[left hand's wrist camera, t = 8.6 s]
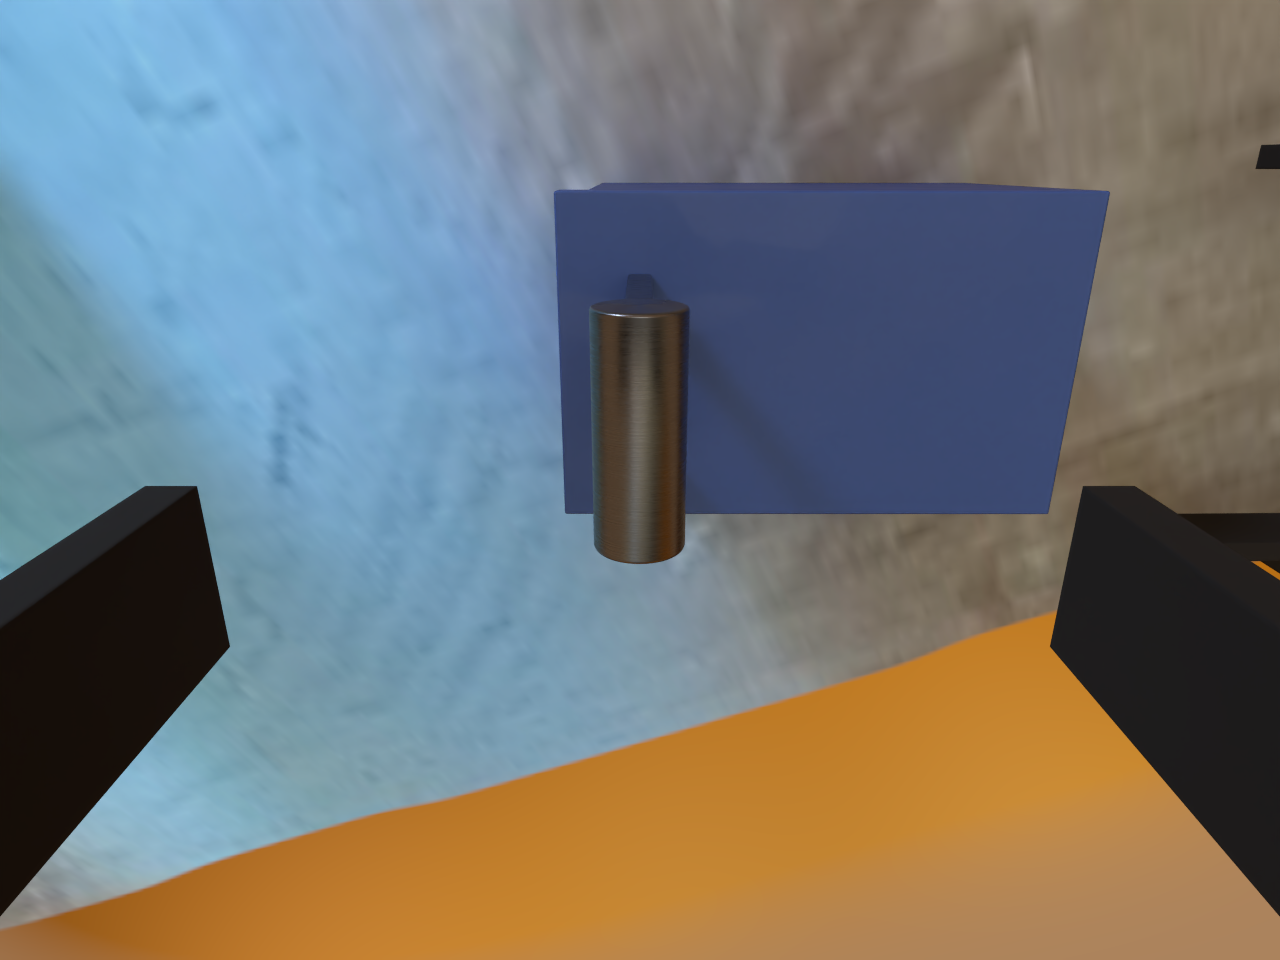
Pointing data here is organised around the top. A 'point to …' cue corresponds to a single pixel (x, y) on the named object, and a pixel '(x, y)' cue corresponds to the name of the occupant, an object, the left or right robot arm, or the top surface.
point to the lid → (815, 352)
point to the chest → (811, 186)
